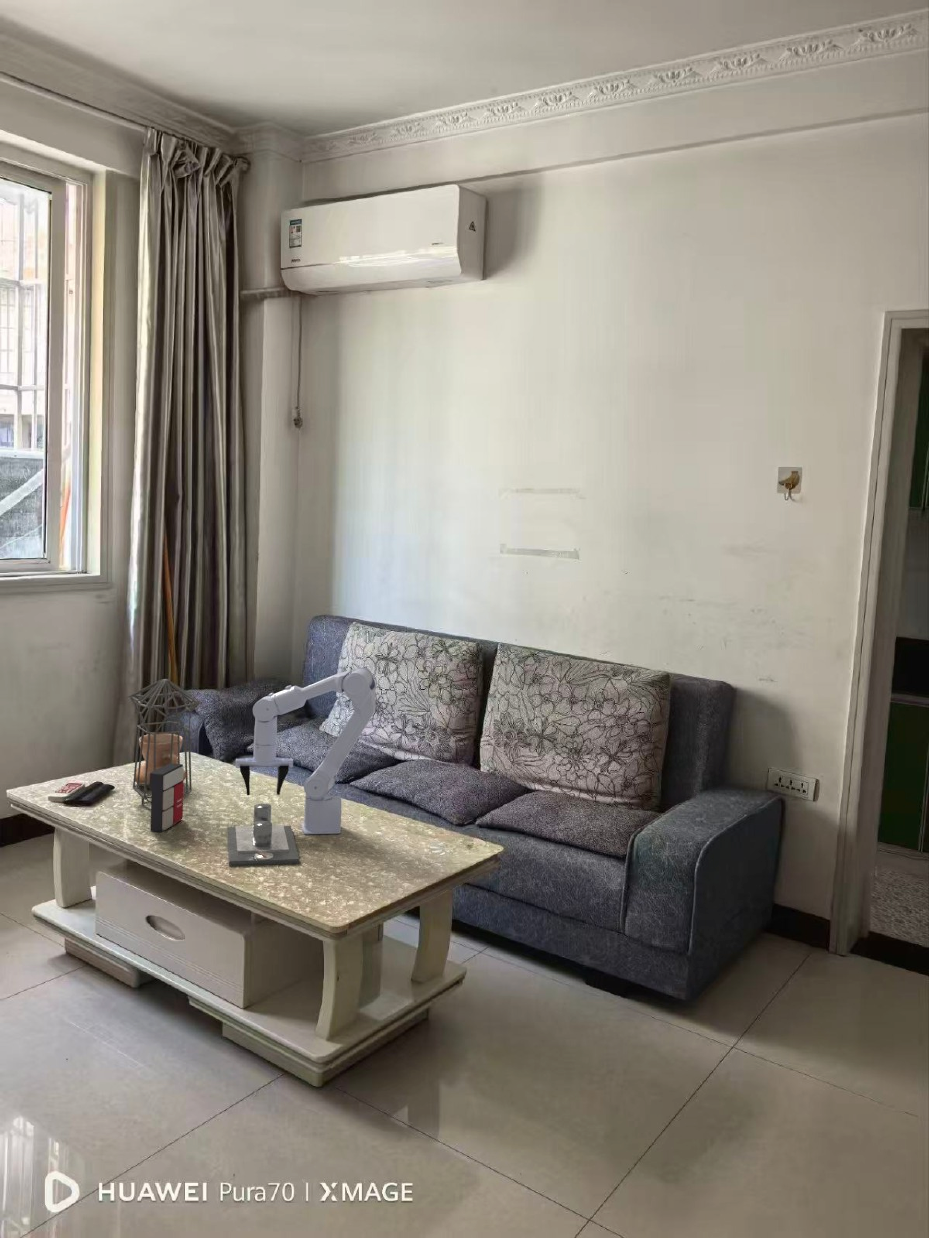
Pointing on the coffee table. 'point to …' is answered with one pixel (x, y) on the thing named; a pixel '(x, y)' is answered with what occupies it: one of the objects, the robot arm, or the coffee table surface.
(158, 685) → the geometric lantern
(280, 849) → the pan
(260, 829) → the cylinder
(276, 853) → the base
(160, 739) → the ceramic jug
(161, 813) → the grey and red box
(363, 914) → the coffee table surface
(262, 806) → the cylinder
